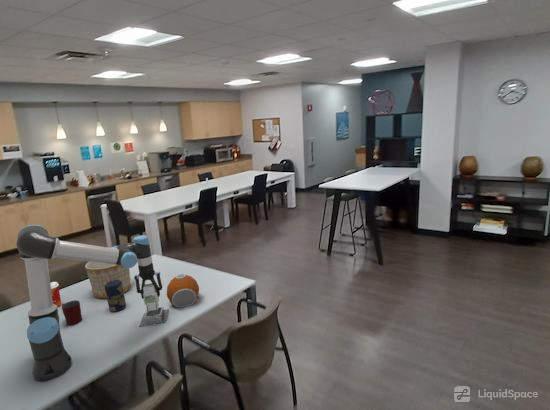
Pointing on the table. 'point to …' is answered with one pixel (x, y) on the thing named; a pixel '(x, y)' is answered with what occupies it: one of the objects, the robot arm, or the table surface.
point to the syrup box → (150, 297)
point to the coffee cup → (55, 294)
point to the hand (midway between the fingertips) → (152, 302)
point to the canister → (115, 295)
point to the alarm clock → (182, 290)
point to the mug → (72, 312)
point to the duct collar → (154, 317)
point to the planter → (106, 276)
